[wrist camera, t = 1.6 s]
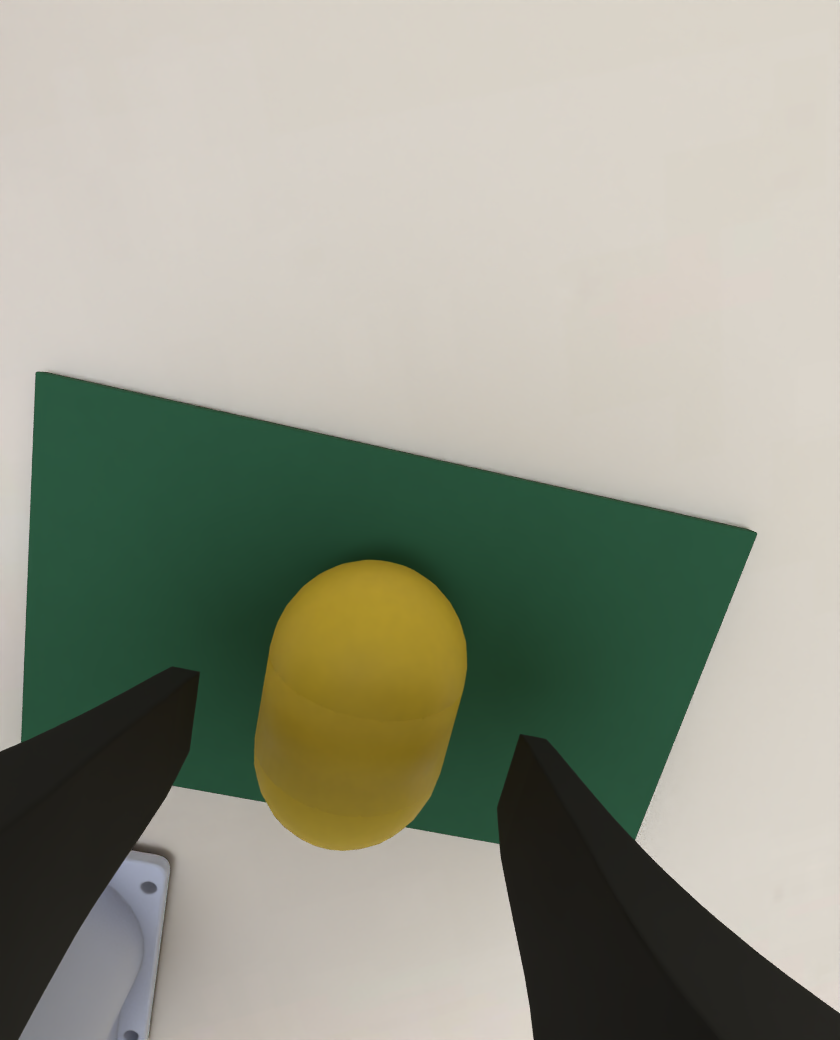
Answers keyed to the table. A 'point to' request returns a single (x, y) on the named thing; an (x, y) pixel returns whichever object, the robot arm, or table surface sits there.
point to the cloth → (348, 538)
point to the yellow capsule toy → (358, 703)
